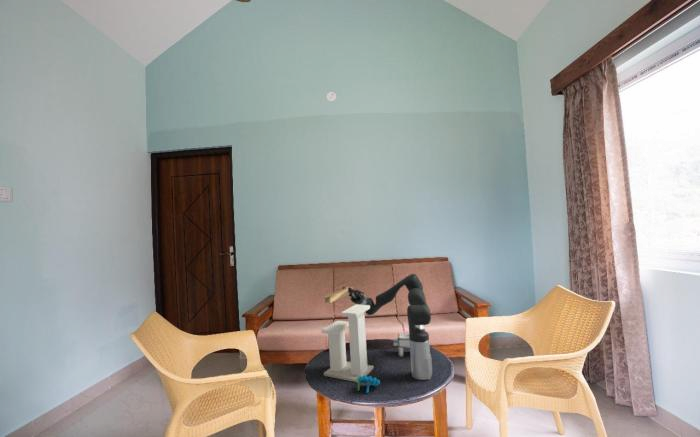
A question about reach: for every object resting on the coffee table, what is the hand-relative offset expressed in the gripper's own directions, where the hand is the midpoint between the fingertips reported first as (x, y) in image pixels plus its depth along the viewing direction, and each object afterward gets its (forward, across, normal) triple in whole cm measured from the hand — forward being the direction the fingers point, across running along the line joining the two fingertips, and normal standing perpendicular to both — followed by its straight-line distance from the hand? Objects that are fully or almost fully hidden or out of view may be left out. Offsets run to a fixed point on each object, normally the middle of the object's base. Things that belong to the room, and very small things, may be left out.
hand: (346, 288), depth 170 cm
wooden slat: (+5, 0, +6) cm, 8 cm away
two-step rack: (-9, +6, +40) cm, 41 cm away
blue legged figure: (+1, +22, +46) cm, 51 cm away
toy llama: (-36, +28, +25) cm, 52 cm away
